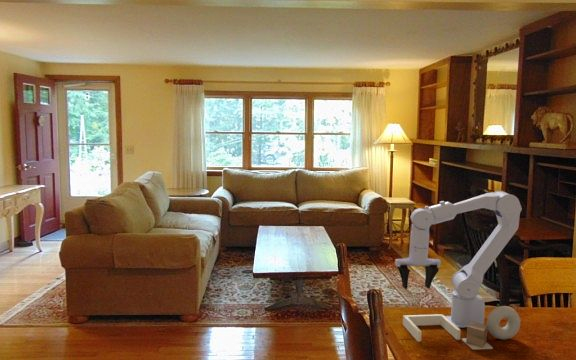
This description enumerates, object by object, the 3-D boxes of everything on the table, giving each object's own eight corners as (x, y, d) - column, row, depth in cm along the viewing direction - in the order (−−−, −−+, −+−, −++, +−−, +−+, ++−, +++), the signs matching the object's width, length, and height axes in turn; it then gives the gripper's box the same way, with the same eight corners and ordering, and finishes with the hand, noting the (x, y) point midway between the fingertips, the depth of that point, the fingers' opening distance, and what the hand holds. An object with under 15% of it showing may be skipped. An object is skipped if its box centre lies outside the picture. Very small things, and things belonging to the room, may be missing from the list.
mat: (480, 339, 132) (480, 337, 132) (492, 348, 127) (492, 347, 126) (461, 339, 132) (461, 338, 132) (472, 349, 126) (472, 348, 126)
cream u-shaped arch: (441, 323, 143) (442, 314, 143) (460, 339, 132) (460, 330, 131) (402, 324, 141) (403, 315, 141) (417, 341, 130) (418, 331, 130)
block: (470, 337, 132) (471, 321, 132) (486, 342, 130) (487, 325, 129) (466, 343, 129) (467, 326, 128) (482, 347, 126) (483, 330, 126)
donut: (514, 335, 135) (516, 303, 134) (521, 341, 132) (524, 308, 131) (483, 336, 134) (485, 304, 133) (489, 342, 131) (492, 309, 130)
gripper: (434, 243, 148) (431, 283, 150) (392, 243, 146) (390, 283, 148) (445, 249, 141) (441, 290, 143) (400, 248, 139) (398, 291, 141)
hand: (416, 287), depth 145 cm, fingers open, 7 cm apart
